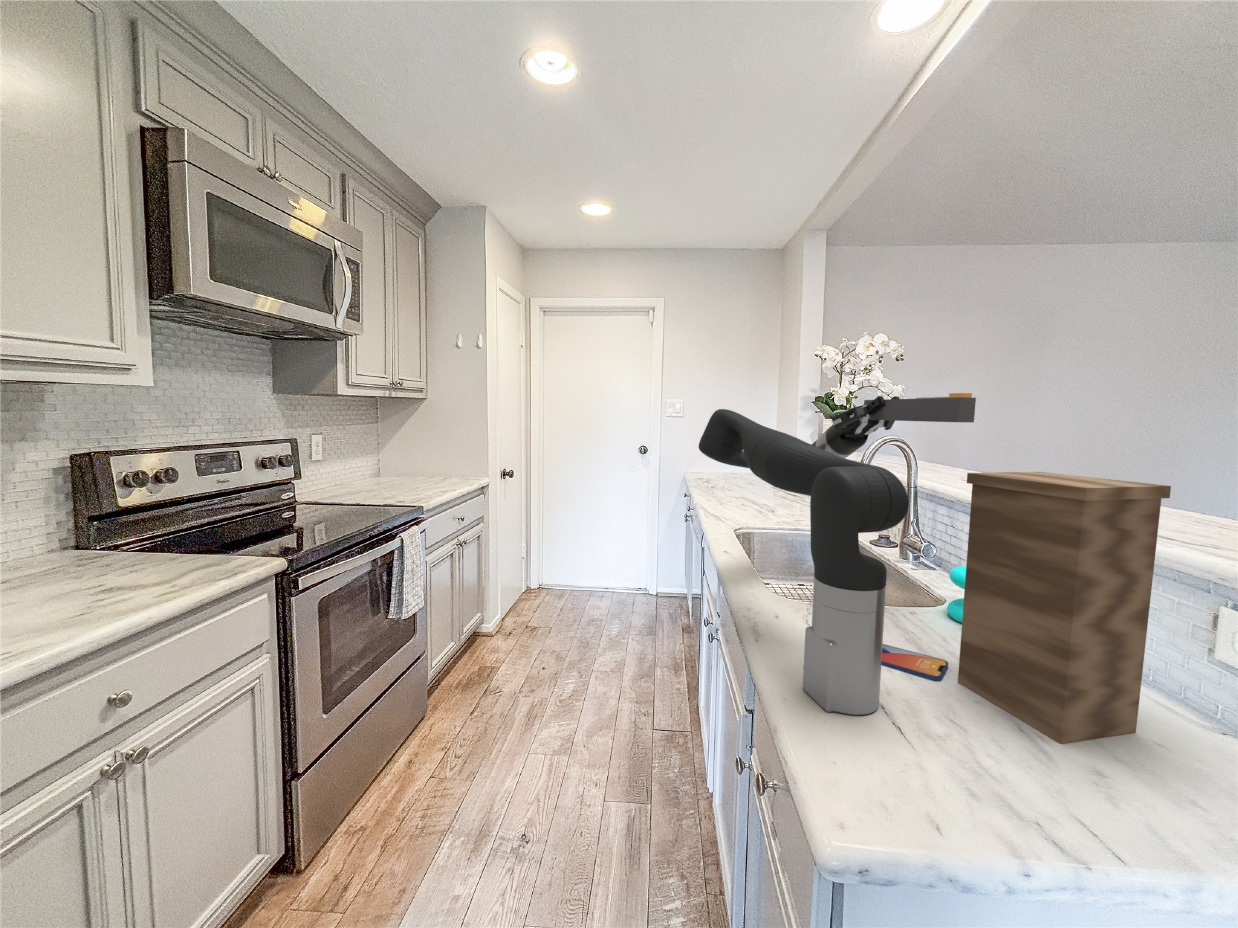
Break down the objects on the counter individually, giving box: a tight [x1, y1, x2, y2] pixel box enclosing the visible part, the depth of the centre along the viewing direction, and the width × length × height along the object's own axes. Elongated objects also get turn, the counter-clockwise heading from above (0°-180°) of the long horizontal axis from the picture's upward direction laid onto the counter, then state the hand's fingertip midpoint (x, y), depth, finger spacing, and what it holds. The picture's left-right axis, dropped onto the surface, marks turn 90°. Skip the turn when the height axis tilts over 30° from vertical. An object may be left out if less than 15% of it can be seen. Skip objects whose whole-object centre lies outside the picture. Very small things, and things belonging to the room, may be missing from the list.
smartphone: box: [881, 643, 949, 682], centre depth 85 cm, size 7×15×1 cm, turn 48°
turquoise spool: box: [946, 565, 966, 624], centre depth 101 cm, size 10×10×10 cm
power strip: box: [863, 392, 977, 423], centre depth 94 cm, size 3×23×5 cm, turn 12°
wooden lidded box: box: [957, 471, 1172, 745], centre depth 70 cm, size 13×16×32 cm
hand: (890, 400), depth 99 cm, fingers closed on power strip, 3 cm apart
